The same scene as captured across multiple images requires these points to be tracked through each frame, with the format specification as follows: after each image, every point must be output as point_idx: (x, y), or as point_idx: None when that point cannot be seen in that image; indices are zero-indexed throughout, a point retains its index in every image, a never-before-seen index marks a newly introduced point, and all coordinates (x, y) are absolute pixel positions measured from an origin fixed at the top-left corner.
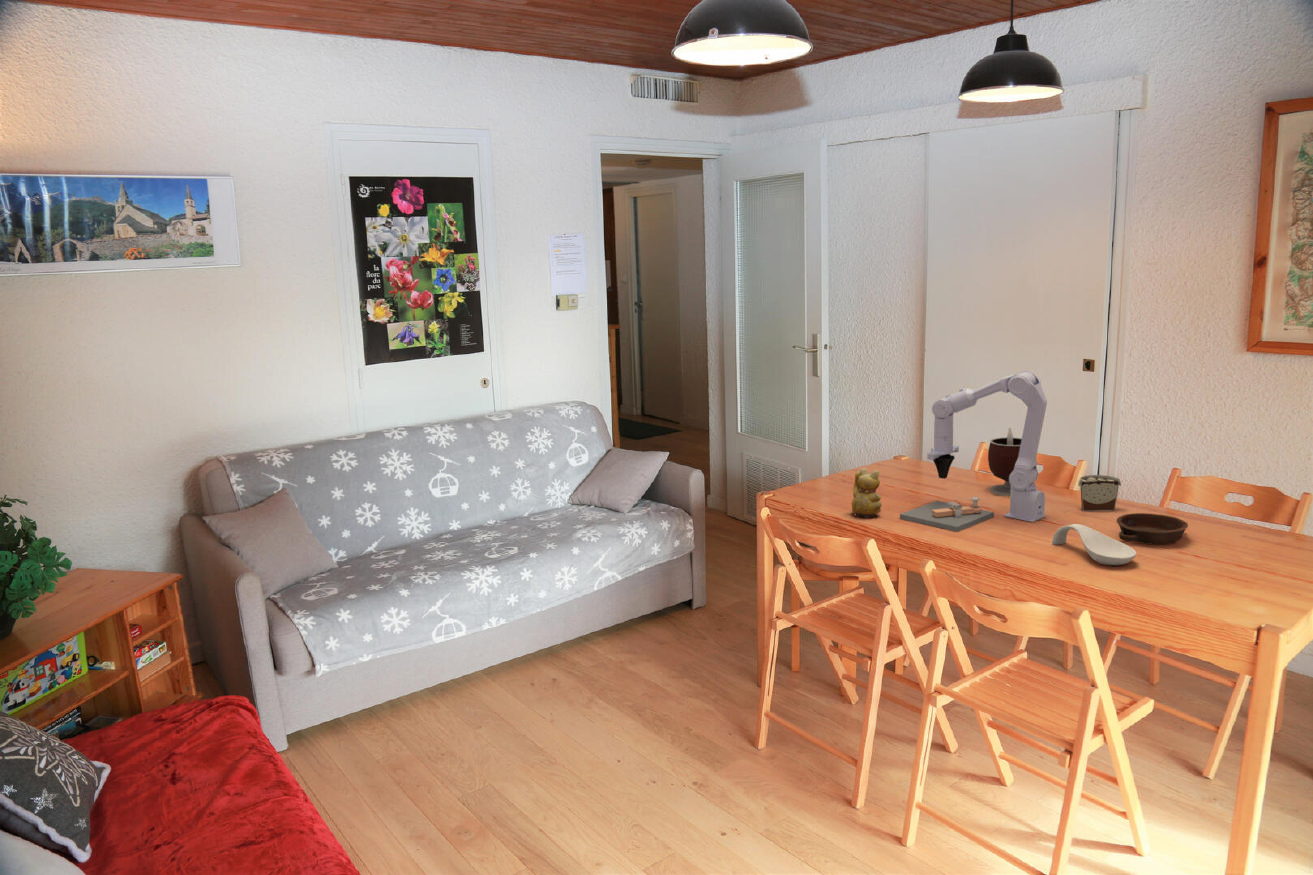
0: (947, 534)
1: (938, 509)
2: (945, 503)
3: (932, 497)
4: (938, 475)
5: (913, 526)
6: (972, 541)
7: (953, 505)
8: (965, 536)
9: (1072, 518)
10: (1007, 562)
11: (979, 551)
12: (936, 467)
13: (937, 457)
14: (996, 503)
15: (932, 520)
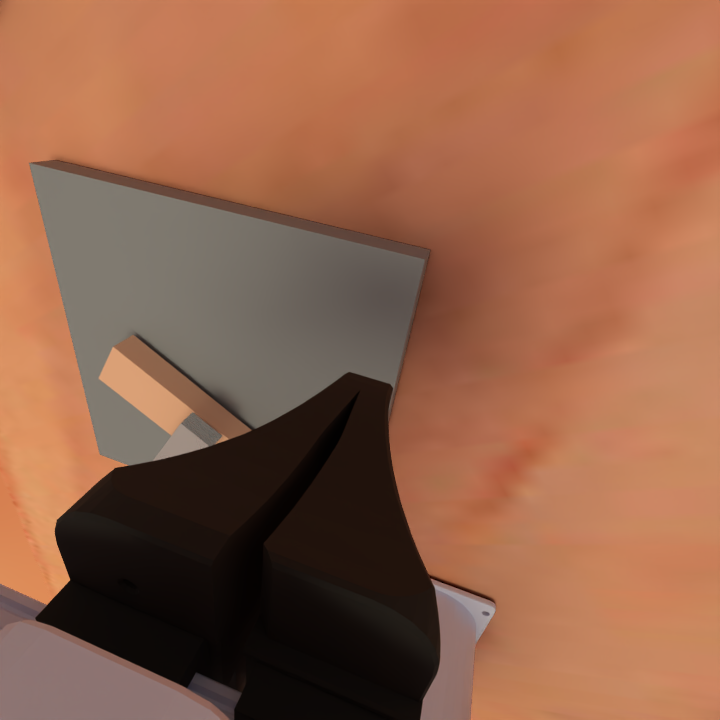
0: (71, 419)
1: (142, 374)
2: (383, 332)
3: (669, 118)
4: (339, 378)
5: (34, 278)
6: (83, 490)
7: (155, 457)
8: (101, 469)
9: (479, 714)
10: (41, 558)
11: (41, 510)
12: (269, 423)
13: (16, 615)
14: (617, 535)
15: (84, 357)
